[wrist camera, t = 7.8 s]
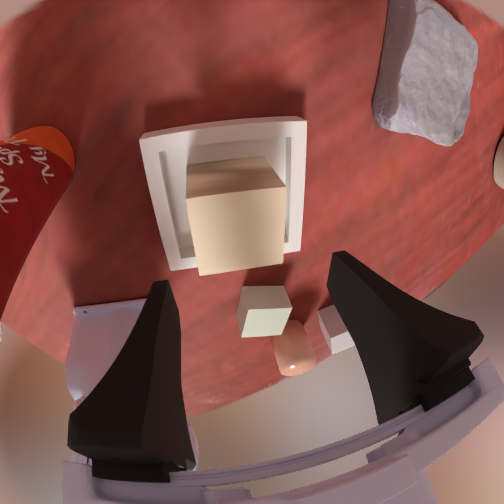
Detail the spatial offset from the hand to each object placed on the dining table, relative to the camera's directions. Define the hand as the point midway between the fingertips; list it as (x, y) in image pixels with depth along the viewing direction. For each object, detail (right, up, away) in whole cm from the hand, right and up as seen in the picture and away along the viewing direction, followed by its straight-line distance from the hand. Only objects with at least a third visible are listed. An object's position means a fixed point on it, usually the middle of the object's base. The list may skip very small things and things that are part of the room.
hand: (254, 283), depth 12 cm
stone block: (+14, +16, +4) cm, 21 cm away
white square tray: (-2, +6, +7) cm, 9 cm away
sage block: (+1, -3, +15) cm, 15 cm away
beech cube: (-2, +5, +7) cm, 9 cm away
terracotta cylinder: (+4, -8, +19) cm, 21 cm away
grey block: (+10, -6, +19) cm, 22 cm away
